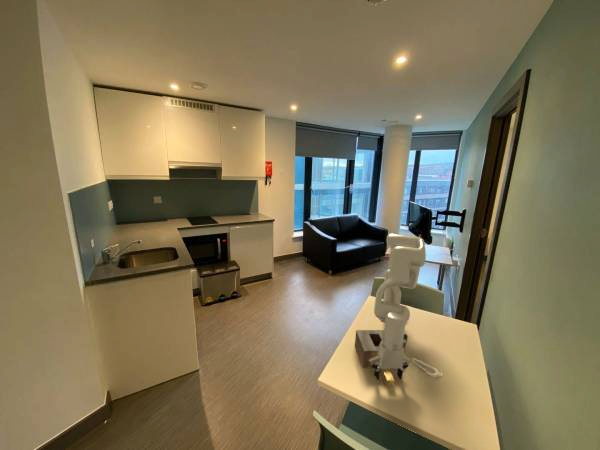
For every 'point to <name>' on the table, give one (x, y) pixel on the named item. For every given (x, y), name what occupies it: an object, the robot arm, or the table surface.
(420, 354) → the table surface
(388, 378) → the wooden block
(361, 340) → the box
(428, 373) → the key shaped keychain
